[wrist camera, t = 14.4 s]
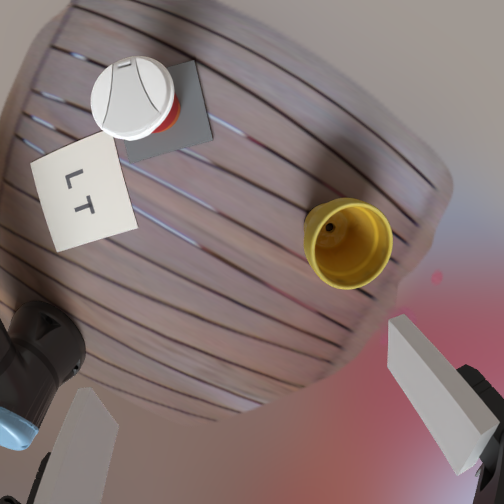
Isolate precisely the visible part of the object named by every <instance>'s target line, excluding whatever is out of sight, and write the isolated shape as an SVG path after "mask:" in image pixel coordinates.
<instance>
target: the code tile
mask: <svg viewBox="0 0 504 504" xmlns="http://www.w3.org/2000/svg"><path fill="white" fill-rule="evenodd" d="M30 164H31V169H32V173H33V177H34V181H35V184H36V188H37V192H38V195H39V199H40V202H41V206H42V209H43V212H44V215H45V219H46V222H47V225H48V228H49V231H50V234H51V237H52V239H53V242H54V245H55V248H56V250H57V252H60V251H63V250H67V249H70V248H73V247H76V246H79V245H82V244H86V243H89V242H92V241H95V240H99V239H102V238H105V237H109V236H112V235H115V234H119V233H122V232H126V231H129V230H133V229H136V228H138V225H137V222H136V218H135V215H134V212H133V208H132V205H131V202H130V198H129V195H128V191H127V188H126V184H125V180H124V177H123V173H122V169H121V165H120V162H119V158H118V154H117V150H116V146H115V141H114V137H112V136H110V135H108V134H107V133H105V132H104V131H102V132H99V133H97V134H94V135H92V136H89V137H87V138H84V139H82V140H79V141H77V142H75V143H72V144H70V145H68V146H66V147H63V148H61V149H59V150H57V151H55V152H52V153H50V154H48V155H46V156H44V157H42V158H40V159H38V160H36V161H34V162H32V163H30Z"/></svg>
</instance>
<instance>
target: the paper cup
mask: <svg viewBox="0 0 504 504" xmlns="http://www.w3.org/2000/svg"><path fill="white" fill-rule="evenodd" d="M91 109H92V114H93V117H94V119H95V121H96V123H97V125H98V126H99V127H100V128H101V129H102V130H103V131H104V132H105V133H107V134H108V135H110V136H112V137H115V138H119V139H124V140H129V141H132V140H138V139H141V138H144V137H146V136H148V135H150V134H151V133H158V132H163V131H165V130H167V129H169V128H171V127H172V126H173V125H174V124H175V123H176V121H177V120H178V118H179V115H180V103H179V100H178V98H177V95H176V93H175V91H174V84H173V80H172V77H171V75H170V73H169V72H168V70H167V69H166V68H165V67H164V66H163V65H162V64H161V63H160V62H158V61H157V60H155V59H152V58H149V57H145V56H132V57H127V58H124V59H121V60H119V61H117V62H115V63H114V64H112V65H110V66H109V67H107V68H106V69H105V70H104V71H103V72H102V73H101V75H100V76H99V77H98V79H97V81H96V82H95V85H94V87H93V90H92V94H91Z"/></svg>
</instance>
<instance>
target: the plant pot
mask: <svg viewBox="0 0 504 504" xmlns="http://www.w3.org/2000/svg"><path fill="white" fill-rule="evenodd" d="M329 223H332V224H333V230H332V231H326V225H327V224H329ZM304 234H305V235H304V251H305V255H306V258H307V260H308V262H309V264H310V265H311V267H312V269H313V270H314V271H315V273H316V274H317V275H318V276H319V277H320V278H321V279H322V280H323V281H324V282H325V283H327V284H328V285H330V286H332V287H335V288H339V289H355V288H359V287H362V286H364V285H366V284H368V283H369V282H371V281H372V280H374V279H375V278H376V277H377V276H378V275H379V274H380V273H381V272H382V270H383V269H384V268H385V266H386V264H387V262H388V260H389V258H390V255H391V251H392V246H393V236H392V230H391V227H390V224H389V222H388V220H387V218H386V217H385V215H384V214H383V213H382V212H381V211H380V210H379V209H378V208H376V207H375V206H373V205H371V204H369V203H366V202H364V201H361V200H358V199H354V198H339V199H335V200H332V201H330V202H328V203H324V204H320V205H318V206H316V207H315V208H313V209H312V210H311V211H310V212H309V214H308V215H307V217H306V219H305V223H304Z"/></svg>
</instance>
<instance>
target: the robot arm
mask: <svg viewBox="0 0 504 504" xmlns="http://www.w3.org/2000/svg"><path fill="white" fill-rule="evenodd" d="M85 354H86V351H85V345H84V341H83V338H82V336H81V334H80V332H79V331H78V329H77V328H76V326H75V325H74V323H73V322H72V321H71V320H70V319H69V318H68V317H67V316H66V315H65V314H64V313H62V312H61V311H60V310H58V309H57V308H55V307H53V306H52V305H49V304H47V303H44V302H39V301H32V302H28V303H25V304H24V305H22V306H21V307H20V308H19V309H18V310H17V311H16V313H15V314H14V316H13V317H12V320H11V323H10V326H9V329H8V331H6V329H5V327H4V325H3V323H2V321H1V319H0V445H1V446H3V447H6V448H9V449H12V450H24V449H26V448H28V447H29V446H30V444H31V442H32V440H33V438H34V437H35V435H36V434H37V433H38V431H39V428H40V426H41V423H42V421H43V419H44V417H45V415H46V413H47V410H48V408H49V406H50V404H51V402H52V400H53V398H54V396H55V394H56V392H57V390H58V388H59V387H60V386H61V385H63V384H64V383H65V382H67V381H68V380H69V379H71V378H72V377H73V376H74V375H76V374H77V373H78V371H79V370H80V368H81V366H82V364H83V362H84V360H85ZM387 367H388V369H389V370H390V371H391V373H392V374H393V376H394V378H395V379H396V381H397V382H398V383H399V385H400V386H401V388H402V389H403V391H404V392H405V394H406V396H407V397H408V399H409V400H410V402H411V403H412V405H413V406H414V408H415V409H416V411H417V412H418V414H419V415H420V417H421V418H422V420H423V421H424V423H425V424H426V426H427V428H428V429H429V431H430V433H431V434H432V436H433V437H434V439H435V441H436V442H437V444H438V445H439V447H440V449H441V450H442V452H443V454H444V455H445V457H446V458H447V460H448V461H449V463H450V465H451V467H452V468H453V470H454V471H455V473H456V475H457V476H458V475H459V474H461V473H463V472H464V471H466V470H468V469H469V468H471V467H472V466H474V465H475V463H476V462H477V460H478V459H479V458H480V459H481V461H482V462H483V463H482V465H481V466H480V468H479V469H478V471H477V472H476V475H475V476H476V477H477V476H478V475H479V474H480V476H479V481H478V485H477V489H476V493H475V497H474V500H473V504H504V399H503V398H502V396H501V395H500V394H499V393H498V392H497V391H496V390H495V389H494V387H492V386H491V384H490V383H489V382H488V381H487V380H485V378H484V376H483V375H482V374H481V373H480V372H479V371H478V370H477V369H474V368H473V367H471V366H468V365H466V364H465V365H464V366H462V367H460V368H458V369H455V368H454V367H453V366H452V365H451V364H450V363H449V362H448V361H447V359H446V358H445V357H444V356H443V355H442V354H441V353H440V352H439V351H438V349H437V348H436V347H435V346H434V345H433V344H432V343H431V342H430V341H429V340H428V339H427V338H426V337H425V336H424V335H423V333H422V332H421V331H420V330H419V329H418V328H417V327H416V326H415V325H414V324H413V323H412V322H411V321H410V320H409V319H408V317H407V316H406V315H405V314H403V315H400V316H397V317H395V318H392V319H389V332H388V365H387ZM118 428H119V425H118V424H117V422H116V421H115V420H114V418H113V417H112V416H111V414H110V413H109V412H108V410H107V409H106V408H105V406H104V405H103V403H102V402H101V401H100V399H99V398H98V396H97V395H96V393H95V392H94V391H93V389H92V388H91V387H89V388H79V389H78V391H77V393H76V395H75V397H74V400H73V402H72V404H71V406H70V409H69V411H68V413H67V416H66V418H65V420H64V423H63V425H62V427H61V430H60V432H59V435H58V437H57V439H56V442H55V444H54V447H53V450H52V452H51V453H50V452H48V453H47V455H46V456H45V457H44V458H43V460H42V461H41V464H40V467H39V469H38V470H39V472H37V475H36V479H35V480H34V483H33V486H32V489H31V492H30V495H29V497H28V500H27V504H101V500H102V495H103V490H104V486H105V481H106V476H107V472H108V468H109V464H110V460H111V455H112V451H113V447H114V443H115V440H116V436H117V432H118ZM0 504H21V503H20V502H18V501H17V500H16V499H14V498H13V497H12V496H4V497H2V498H1V499H0Z"/></svg>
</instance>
